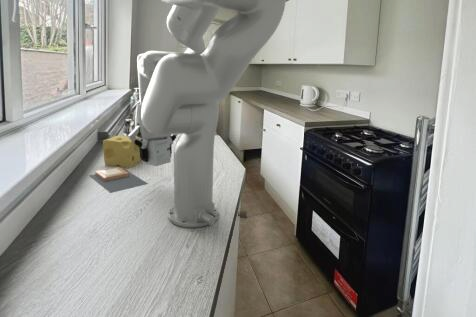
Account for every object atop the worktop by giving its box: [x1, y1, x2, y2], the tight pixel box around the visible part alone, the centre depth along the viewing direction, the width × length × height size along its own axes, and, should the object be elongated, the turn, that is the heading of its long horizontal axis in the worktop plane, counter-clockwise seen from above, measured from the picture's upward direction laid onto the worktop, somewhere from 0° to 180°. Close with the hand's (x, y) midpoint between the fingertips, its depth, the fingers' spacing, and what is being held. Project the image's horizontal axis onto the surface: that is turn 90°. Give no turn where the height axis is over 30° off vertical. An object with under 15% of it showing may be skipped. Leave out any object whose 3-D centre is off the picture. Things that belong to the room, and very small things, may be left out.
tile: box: [94, 166, 129, 181], centre depth 102 cm, size 1×8×8 cm
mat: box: [88, 168, 149, 194], centre depth 99 cm, size 18×12×1 cm, turn 44°
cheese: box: [102, 134, 142, 169], centre depth 115 cm, size 10×11×10 cm
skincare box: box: [141, 138, 172, 167], centre depth 91 cm, size 6×6×7 cm
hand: (156, 158), depth 92 cm, fingers closed on skincare box, 7 cm apart
